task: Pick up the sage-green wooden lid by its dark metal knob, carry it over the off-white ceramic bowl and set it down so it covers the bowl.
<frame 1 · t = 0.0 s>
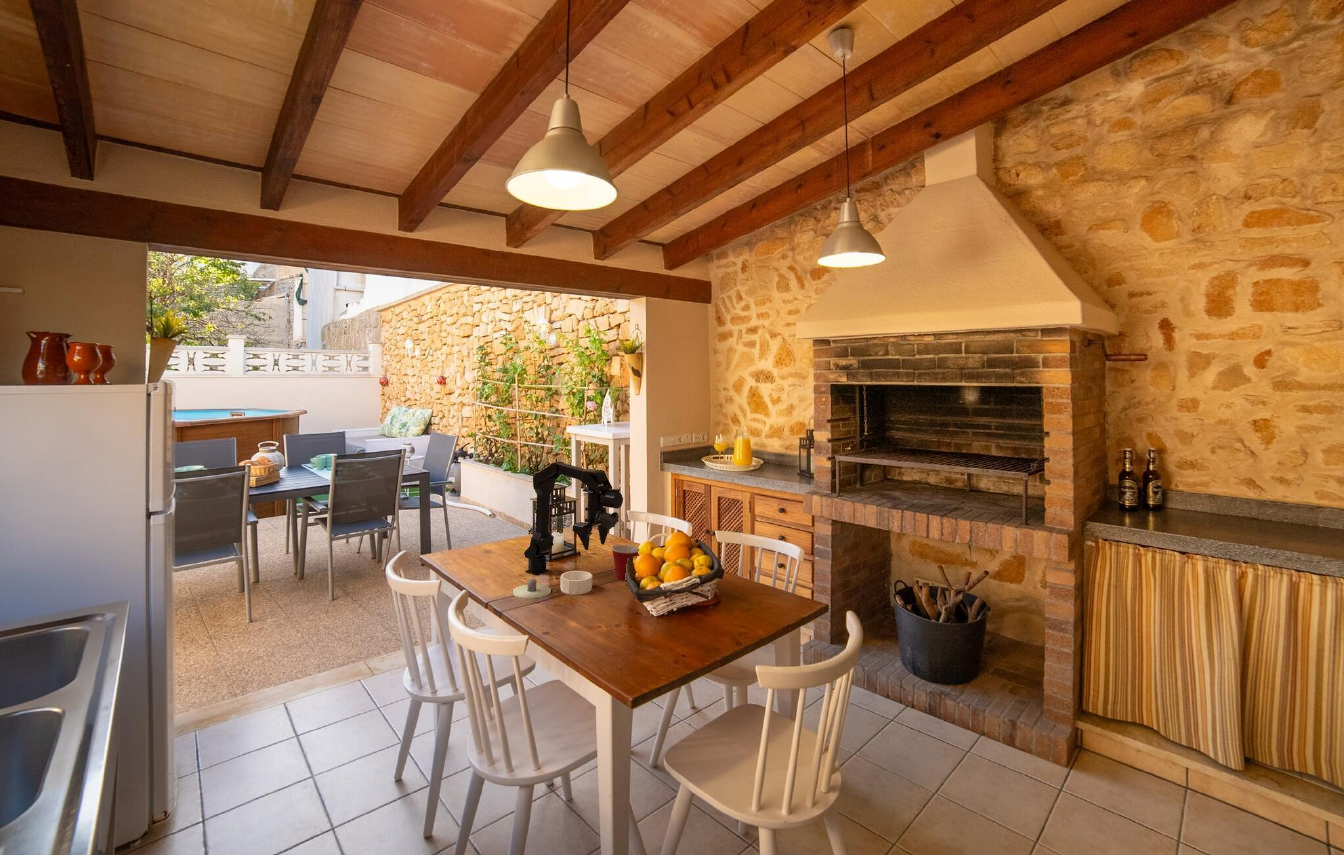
hand: (594, 547, 216), 15 cm above the table, fingers open, 9 cm apart
plastic cup: (624, 578, 227), on the table
lid: (531, 593, 210), on the table
bowl: (576, 589, 214), on the table
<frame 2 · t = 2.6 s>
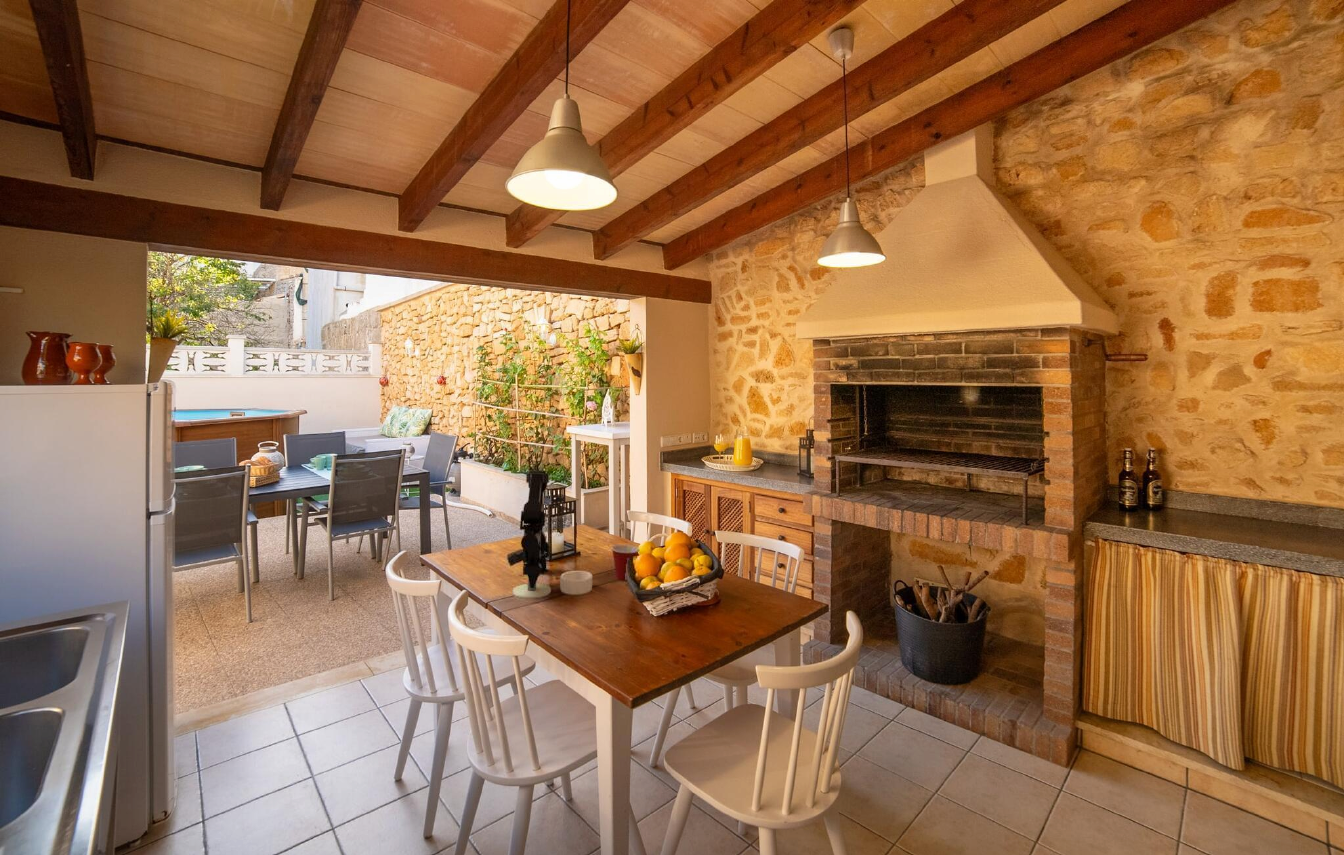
hand: (531, 586, 210), 2 cm above the table, fingers closed on lid, 3 cm apart
lid: (531, 592, 210), on the table, touching gripper
everything else where it was.
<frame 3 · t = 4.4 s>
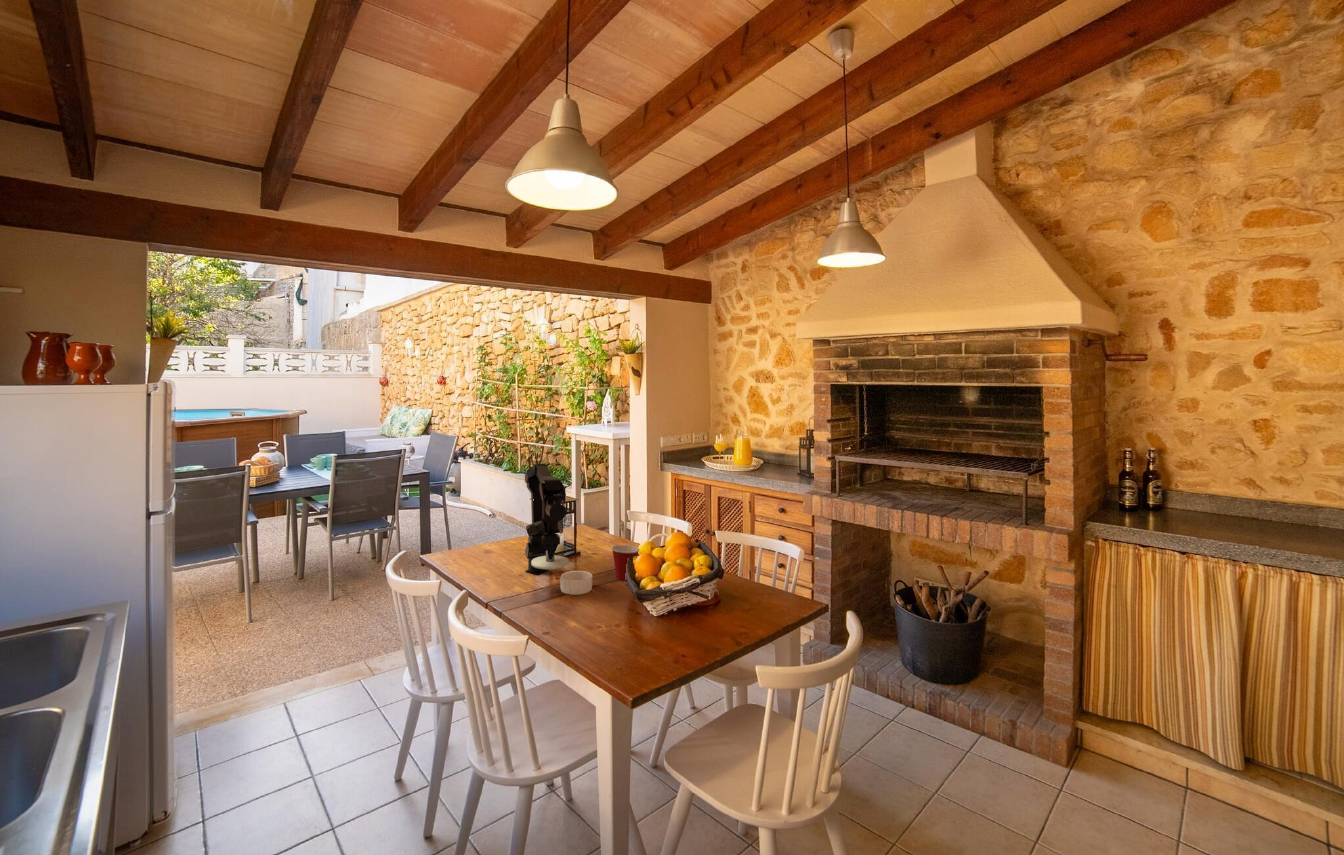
hand: (550, 557, 210), 12 cm above the table, fingers closed on lid, 3 cm apart
lid: (550, 563, 210), point 10 cm above the table, touching gripper
everything else where it was.
when the fingers open (8 cm above the table, at t = 6.2 s): lid drops 1 cm, resting on bowl.
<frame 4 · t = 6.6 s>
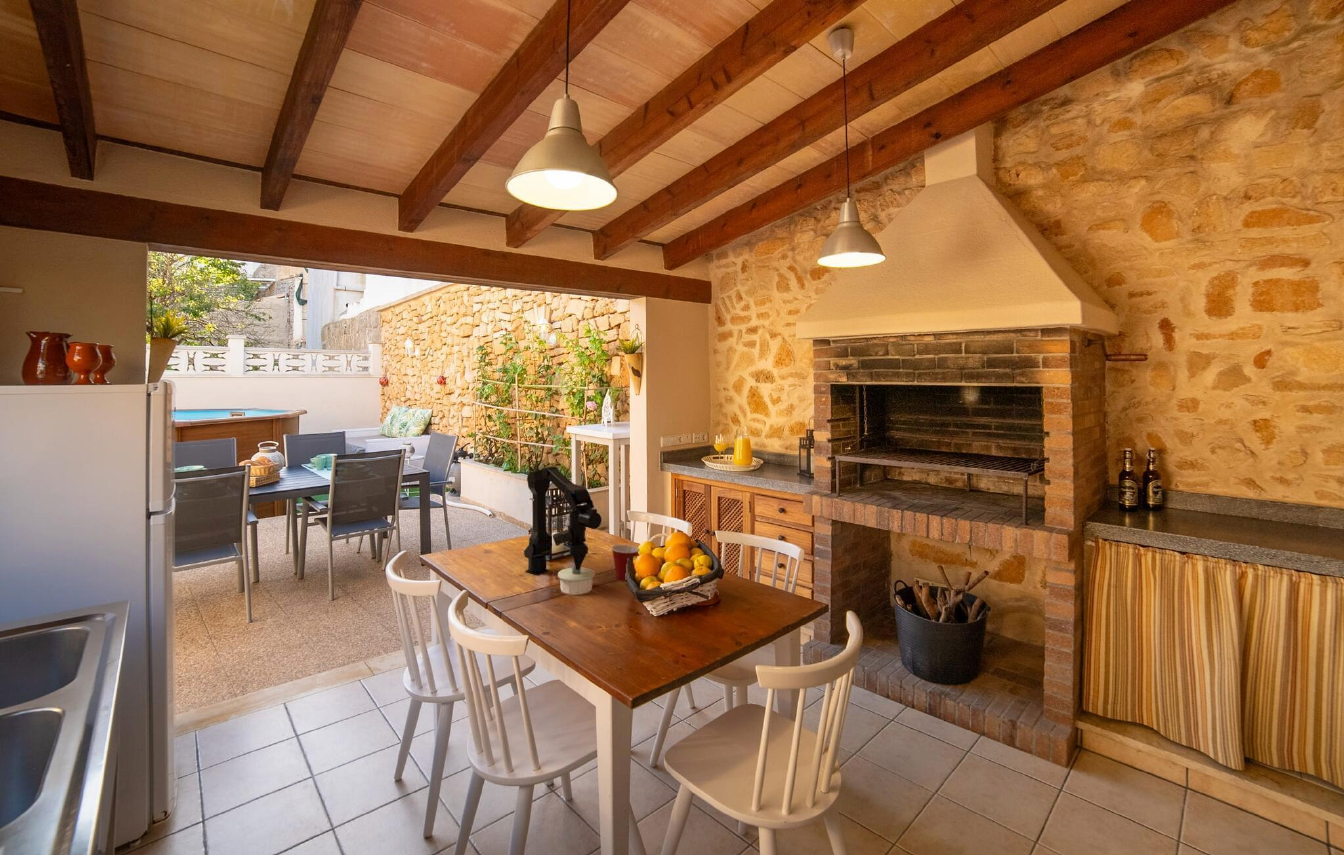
hand: (576, 566, 213), 8 cm above the table, fingers open, 8 cm apart
lid: (576, 575, 213), point 5 cm above the table, touching bowl
everything else where it was.
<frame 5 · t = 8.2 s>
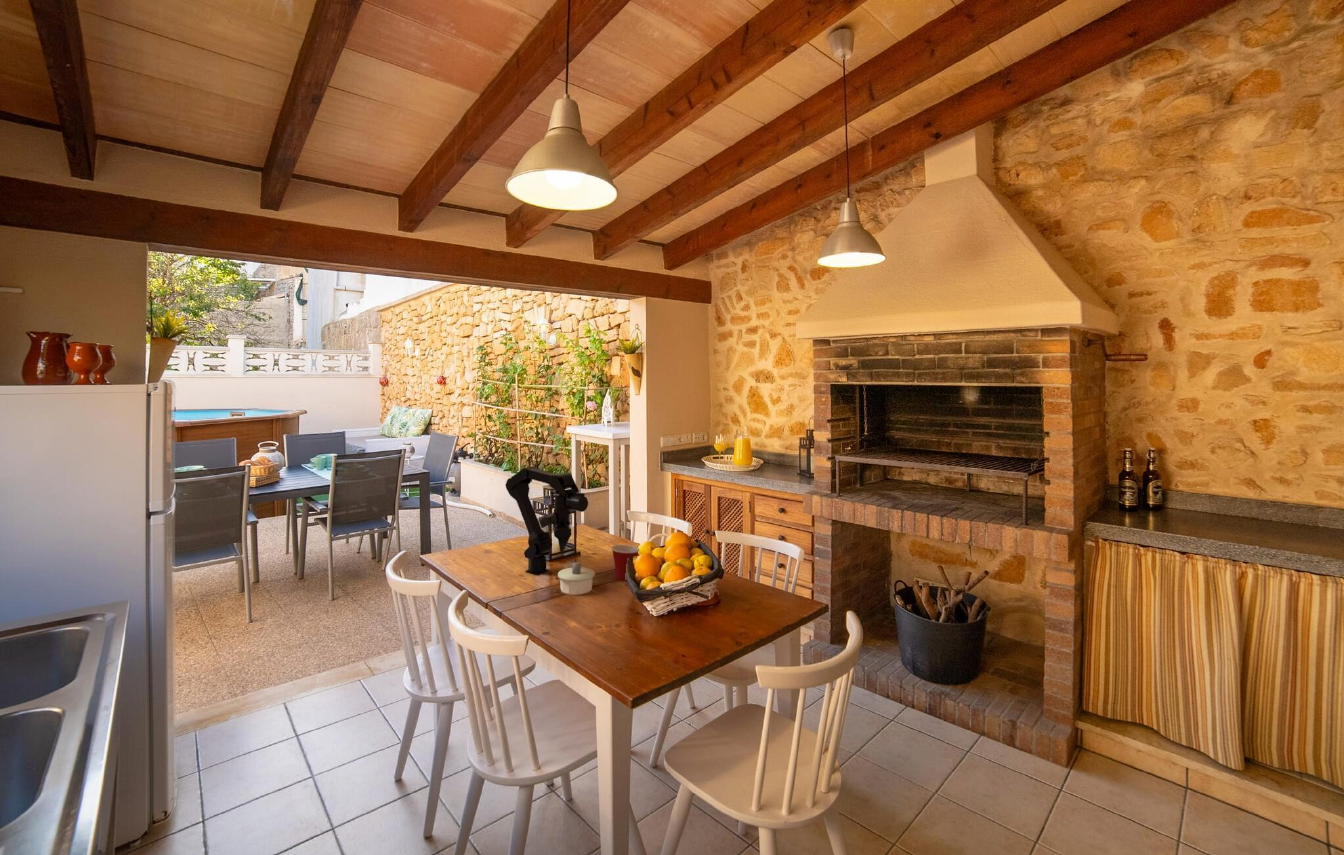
hand: (561, 547, 224), 12 cm above the table, fingers open, 9 cm apart
nothing on the table moved.
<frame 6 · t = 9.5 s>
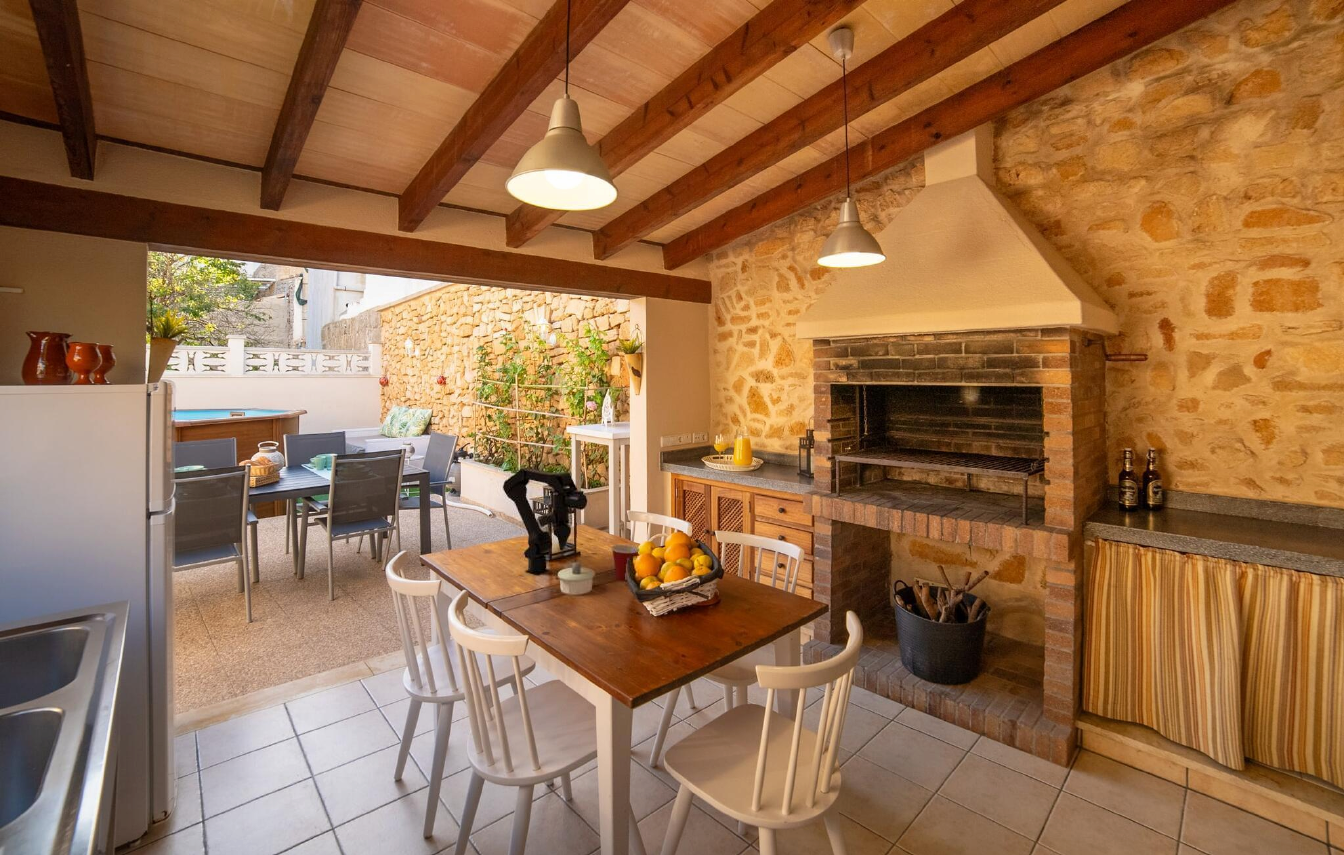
hand: (560, 546, 224), 12 cm above the table, fingers open, 9 cm apart
nothing on the table moved.
at the end: lid 0.1 cm off-centre on the bowl, point 5.0 cm above the bowl's base; lid tilted 0°; the gripper is holding nothing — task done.
